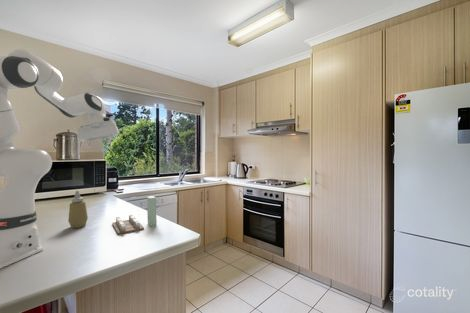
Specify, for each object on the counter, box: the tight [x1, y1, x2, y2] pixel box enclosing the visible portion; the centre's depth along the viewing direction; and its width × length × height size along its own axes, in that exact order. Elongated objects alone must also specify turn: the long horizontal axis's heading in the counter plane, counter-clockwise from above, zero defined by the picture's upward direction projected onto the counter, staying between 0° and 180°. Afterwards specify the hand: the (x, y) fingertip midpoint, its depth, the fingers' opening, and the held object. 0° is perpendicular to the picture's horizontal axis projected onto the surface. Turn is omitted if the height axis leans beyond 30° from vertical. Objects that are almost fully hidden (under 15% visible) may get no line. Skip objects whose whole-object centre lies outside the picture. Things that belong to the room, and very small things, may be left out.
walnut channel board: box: [111, 214, 145, 236], centre depth 108 cm, size 18×11×4 cm, turn 36°
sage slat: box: [146, 195, 158, 227], centre depth 112 cm, size 5×3×14 cm, turn 36°
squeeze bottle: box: [67, 190, 89, 229], centre depth 111 cm, size 8×8×18 cm
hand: (99, 145), depth 118 cm, fingers open, 8 cm apart
